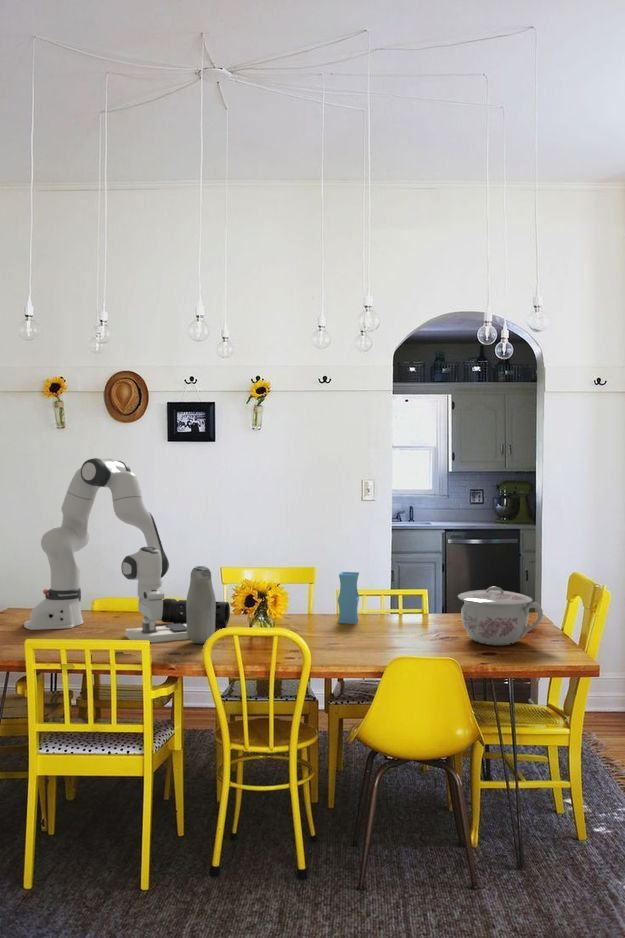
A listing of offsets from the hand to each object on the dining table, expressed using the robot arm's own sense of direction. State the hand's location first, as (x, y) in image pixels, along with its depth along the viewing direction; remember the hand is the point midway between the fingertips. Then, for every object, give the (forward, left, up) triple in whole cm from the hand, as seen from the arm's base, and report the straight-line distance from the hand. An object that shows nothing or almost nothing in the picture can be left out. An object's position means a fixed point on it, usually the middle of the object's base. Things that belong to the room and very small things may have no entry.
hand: (149, 628), depth 302 cm
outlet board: (+5, 0, -4) cm, 6 cm away
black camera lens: (+22, +15, -4) cm, 27 cm away
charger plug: (0, 0, -3) cm, 3 cm away
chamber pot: (+116, -56, -4) cm, 129 cm away
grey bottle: (+15, -15, -4) cm, 21 cm away
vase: (+83, -3, -4) cm, 83 cm away
